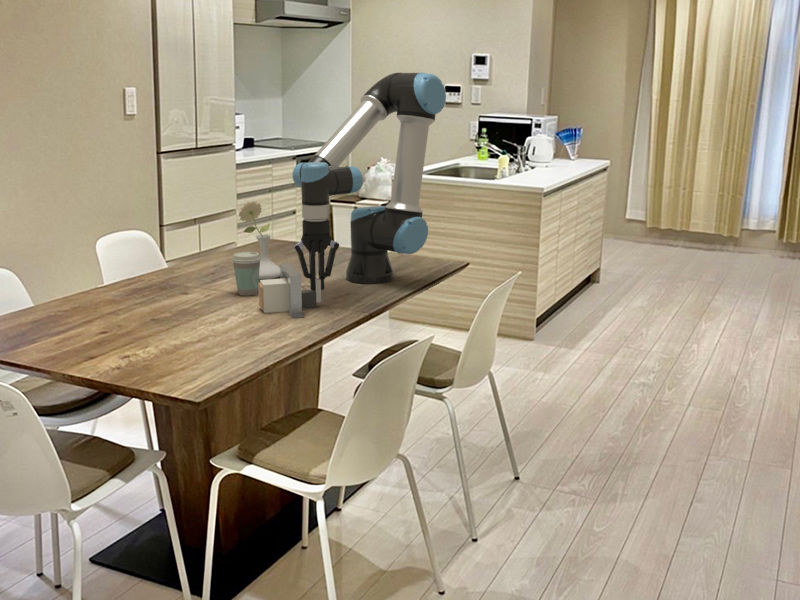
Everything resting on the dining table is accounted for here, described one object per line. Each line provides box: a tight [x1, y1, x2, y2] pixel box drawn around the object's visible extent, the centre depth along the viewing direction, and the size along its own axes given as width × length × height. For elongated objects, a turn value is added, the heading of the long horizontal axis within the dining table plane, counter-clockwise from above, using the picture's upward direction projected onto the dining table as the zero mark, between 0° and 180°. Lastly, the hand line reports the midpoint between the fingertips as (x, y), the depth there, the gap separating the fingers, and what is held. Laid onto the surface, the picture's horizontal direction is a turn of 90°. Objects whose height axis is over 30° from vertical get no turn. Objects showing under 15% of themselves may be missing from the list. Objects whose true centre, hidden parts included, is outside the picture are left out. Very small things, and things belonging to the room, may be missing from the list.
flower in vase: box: [238, 200, 280, 280], centre depth 281 cm, size 13×11×25 cm
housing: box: [279, 262, 305, 319], centre depth 249 cm, size 3×21×11 cm, turn 17°
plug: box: [258, 278, 317, 314], centre depth 249 cm, size 16×6×8 cm, turn 107°
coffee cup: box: [231, 251, 261, 297], centre depth 264 cm, size 8×8×12 cm
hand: (317, 301), depth 252 cm, fingers closed
